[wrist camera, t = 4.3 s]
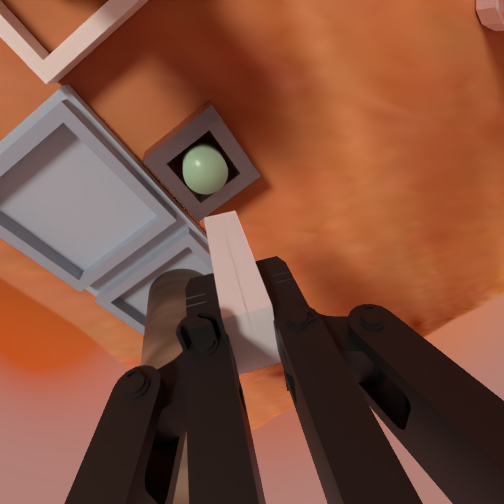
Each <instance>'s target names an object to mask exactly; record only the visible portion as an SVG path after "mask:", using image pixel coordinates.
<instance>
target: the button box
mask: <svg viewBox="0 0 504 504" xmlns="http://www.w3.org/2000/svg"><path fill="white" fill-rule="evenodd" d="M208 131H210V132H211V133H212V135H213V136H214V137H215V139H216V140H217V142H218V143H219V144H220V146H221V147H222V149H223V150H224V151H225V153H226V154H227V155H228V157H229V158H230V160H231V161H232V162H233V164H234V165H233V166H232V167H230V168H229V169H228V177H227V180H226V183H225V184H224V186H223V187H222V188H221V189H220V190H219V191H217V192H215V193H212V194H199V193H197V192H195V191H193V190H192V189H190V188H189V187H188V185H187V184H186V182H185V180H184V176H183V173H182V171H181V170H180V169H179V168H178V167H177V166H176V164H175V163H174V162H173V161H172V159H173V158H174V157H176V156H177V155H178V154H180V153H181V152H182V151H183V150H185V149H186V148H187V147H188V146H190V145H191V144H192V143H194V142H195V141H196V140H197V139H199V138H200V137H201V136H202V135H204V134H205V133H206V132H208ZM142 161H143V162H144V163H145V164H146V165H147V166H148V167H149V169H150V170H151V171H152V172H153V173H154V174H155V175H156V176H157V177H158V178H159V179H160V181H161V182H162V183H163V184H164V185H165V186H166V187H167V188H168V189H169V190H170V191H171V193H172V194H173V195H174V196H175V197H176V198H177V199H178V200H179V201H180V202H181V204H182V205H183V206H184V207H185V208H186V209H187V210H188V211H189V212H190V213H191V214H192V216H193V217H194V218H195V219H196V220H197V221H198V222H199V221H201V220H202V219H203V218H205V217H206V216H207V215H209V214H210V213H211V212H213V211H214V210H216V209H217V208H218V207H220V206H221V205H222V204H224V203H225V202H226V201H228V200H229V199H231V198H232V197H233V196H235V195H236V194H237V193H239V192H240V191H241V190H243V189H244V188H246V187H247V186H248V185H250V184H251V183H252V182H254V181H255V180H256V179H258V178H259V177H260V174H259V173H258V171H257V170H256V169H255V167H254V166H253V164H252V163H251V161H250V160H249V158H248V157H247V155H246V154H245V152H244V151H243V149H242V148H241V147H240V145H239V144H238V142H237V141H236V139H235V138H234V136H233V135H232V133H231V132H230V130H229V129H228V127H227V126H226V125H225V123H224V122H223V120H222V119H221V117H220V116H219V114H218V113H217V111H216V110H215V108H214V107H213V105H212V104H211V103H210V102H209V101H208V102H206V103H205V104H204V105H203V106H201V107H200V108H199V109H198V110H196V111H195V112H194V113H193V114H191V115H190V116H189V117H188V118H187V119H185V120H184V121H183V122H182V123H180V124H179V125H178V126H177V127H175V128H174V129H173V130H172V131H170V132H169V133H168V134H167V135H165V136H164V137H163V138H162V139H160V140H159V141H158V142H157V143H155V144H154V145H153V146H152V147H150V148H149V149H148V150H147V151H145V154H144V157H143V160H142Z"/></svg>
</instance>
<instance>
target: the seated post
mask: <svg viewBox="0 0 504 504" xmlns="http://www.w3.org/2000/svg"><path fill="white" fill-rule="evenodd" d="M202 275H203V274H202V273H200V272H198V271H195V270H191V269H174V270H170V271H167V272H165V273H163V274H161V275H160V276H158V277H157V278H156V279H155V280H154V281H153V283H152V284H151V286H150V289H149V295H148V304H147V313H146V322H145V331H144V340H143V348H142V357H141V366H142V365H148V366H153V367H154V368H156V369H159V368H160V367H162V366H164V365H166V364H167V363H169V362H171V361H172V360H174V359H175V358H176V357H177V356H178V355H179V354H180V353H181V352H182V351H183V349H182V347H181V345H180V342H179V340H178V338H177V335H176V329H177V326H178V324H179V323H180V322H181V320H182V319H183V318H185V317H186V294H185V288H186V286H187V284H188V282H189V280H190V278H194V277H198V276H202ZM173 504H189V488H188V460H187V432H186V437H185V442H184V448H183V453H182V458H181V463H180V469H179V474H178V479H177V485H176V490H175V495H174V500H173Z"/></svg>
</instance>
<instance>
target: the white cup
mask: <svg viewBox="0 0 504 504" xmlns="http://www.w3.org/2000/svg"><path fill="white" fill-rule="evenodd" d="M476 12H477V14H478V17H479V19H480V21H481V24H482V25H484V26H486V27H487V28H489V29H491V30H493V31H504V0H476Z"/></svg>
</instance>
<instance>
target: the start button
mask: <svg viewBox="0 0 504 504" xmlns="http://www.w3.org/2000/svg"><path fill="white" fill-rule="evenodd" d="M182 165H183V176H184V180H185V182H186V184H187V185H188V187H189V188H190V189H192V190H193V191H195V192H197V193H199V194H212V193H215V192H217V191H219V190H220V189H221V188H222V187H223V186H224V184H225V183H226V180H227V177H228V168H227V165H226V163H225V161H224V159H223V157H222V155H221V153H220V151H219V150H218V149H217V148H216V147H215V146H213V145H211V144H209V143H203V142H202V143H196V144H194V145H192V146H190V147H189V148H188V149H187V150H186V152H185V153H184V156H183V160H182Z"/></svg>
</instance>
